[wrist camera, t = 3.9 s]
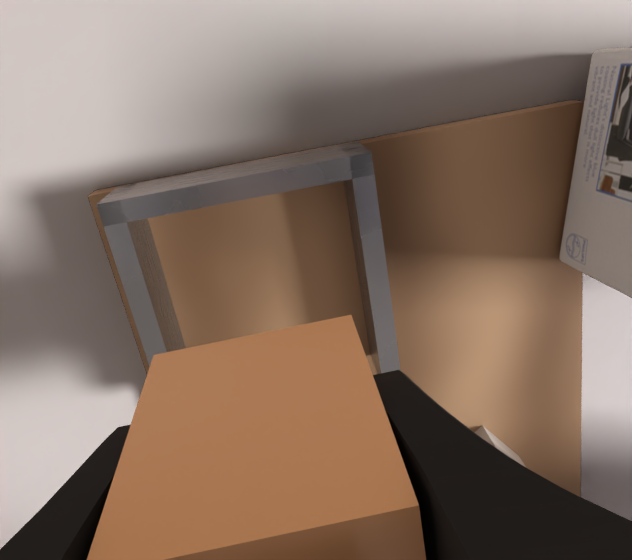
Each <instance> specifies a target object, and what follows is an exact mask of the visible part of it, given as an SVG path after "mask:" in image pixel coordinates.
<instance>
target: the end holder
mask: <svg viewBox="0 0 632 560" xmlns="http://www.w3.org/2000/svg"><path fill="white" fill-rule="evenodd" d="M339 181H344V188H345V194H346V201H347V207H348V213H349V220H350V226H351V233H352V239H353V246H354V252H355V259H356V265H357V272H358V278H359V284H360V291H361V297H362V304H363V310H364V317H365V323H366V330H367V336H368V343H369V349H370V355H371V358H372V361H373V363H374V366H375V369H376V371H377V374H380V373H385V372H390V371H395V370H400V362H399V354H398V347H397V339H396V332H395V324H394V317H393V309H392V302H391V294H390V287H389V279H388V272H387V264H386V257H385V249H384V242H383V234H382V227H381V219H380V212H379V204H378V197H377V189H376V182H375V174H374V167H373V159H372V152H371V151H370V150H368V149H367V148H366V147H365V146H363V145H362V144H361V143H359V142H358V141H356V142H351V143H345V144H340V145H335V146H330V147H324V148H319V149H314V150H309V151H303V152H298V153H293V154H288V155H282V156H277V157H272V158H267V159H261V160H256V161H251V162H246V163H240V164H235V165H230V166H225V167H219V168H214V169H209V170H204V171H198V172H193V173H188V174H182V175H177V176H172V177H167V178H161V179H156V180H151V181H146V182H140V183H135V184H130V185H125V186H119V187H116V188H115V189H114V190H113V191H112V192H110V193H109V194H108V195H107V196H106V197H104V198H103V199H102V200H101V201H100V202H99V203H97V204H96V205H97V208H98V211H99V214H100V217H101V220H102V223H103V227H104V230H105V233H106V236H107V239H108V242H109V245H110V248H111V251H112V254H113V257H114V260H115V263H116V266H117V269H118V272H119V275H120V278H121V281H122V284H123V287H124V290H125V293H126V296H127V299H128V303H129V306H130V309H131V312H132V315H133V318H134V321H135V324H136V327H137V330H138V333H139V336H140V339H141V342H142V345H143V348H144V351H145V354H146V357H147V360H148V363H149V366H150V364H151V361H152V358H153V355H156V354H161V353H166V352H170V351H175V350H180V349H185V348H186V346H185V343H184V339H183V336H182V333H181V329H180V326H179V322H178V319H177V316H176V312H175V309H174V306H173V302H172V299H171V295H170V292H169V289H168V285H167V282H166V279H165V275H164V272H163V268H162V265H161V262H160V258H159V255H158V252H157V248H156V245H155V241H154V238H153V235H152V231H151V228H150V225H149V221H148V218H151V217H157V216H162V215H167V214H172V213H178V212H183V211H188V210H193V209H198V208H204V207H209V206H214V205H219V204H224V203H230V202H235V201H240V200H245V199H251V198H256V197H261V196H266V195H271V194H277V193H282V192H287V191H292V190H297V189H303V188H308V187H313V186H318V185H324V184H329V183H334V182H339ZM400 371H401V370H400Z"/></svg>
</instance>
